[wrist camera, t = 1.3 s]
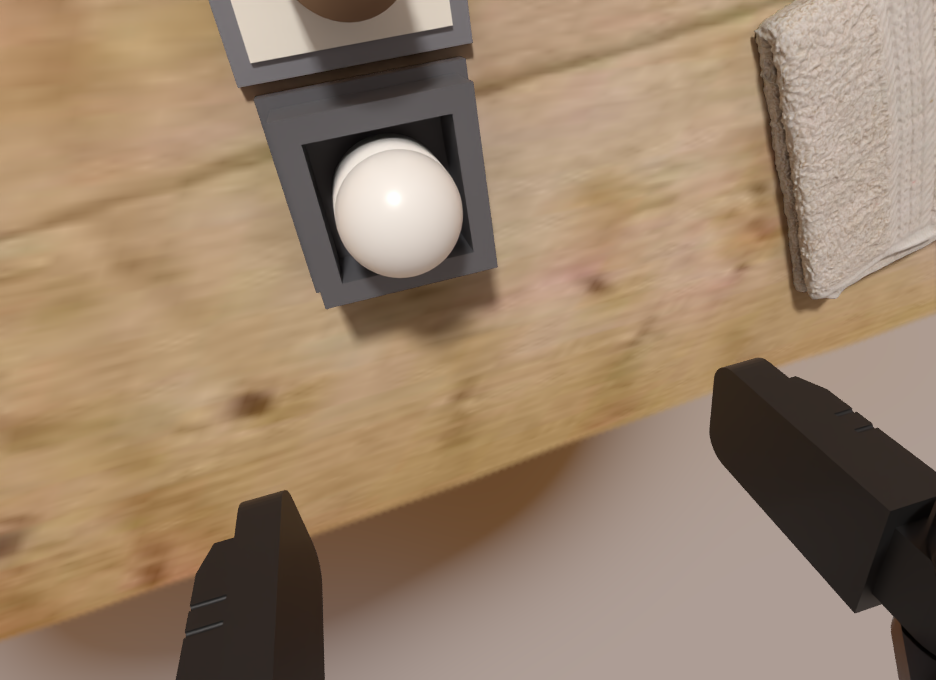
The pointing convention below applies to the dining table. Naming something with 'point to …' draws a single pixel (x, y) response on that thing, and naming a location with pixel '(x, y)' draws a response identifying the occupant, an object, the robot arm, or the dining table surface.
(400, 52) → the game board
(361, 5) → the brown cylinder
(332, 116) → the button base
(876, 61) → the washcloth
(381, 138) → the dome
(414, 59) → the dining table surface
